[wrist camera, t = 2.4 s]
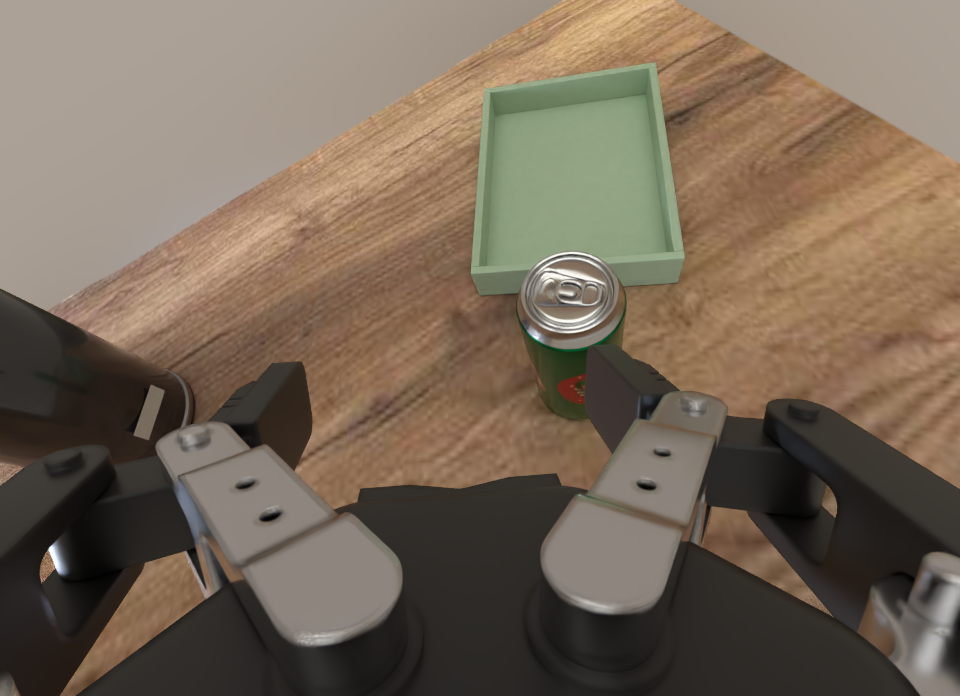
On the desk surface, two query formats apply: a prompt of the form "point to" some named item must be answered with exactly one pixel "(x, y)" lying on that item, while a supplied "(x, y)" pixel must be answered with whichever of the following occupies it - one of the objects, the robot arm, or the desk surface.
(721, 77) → the desk surface
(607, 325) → the soda can
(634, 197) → the tray
